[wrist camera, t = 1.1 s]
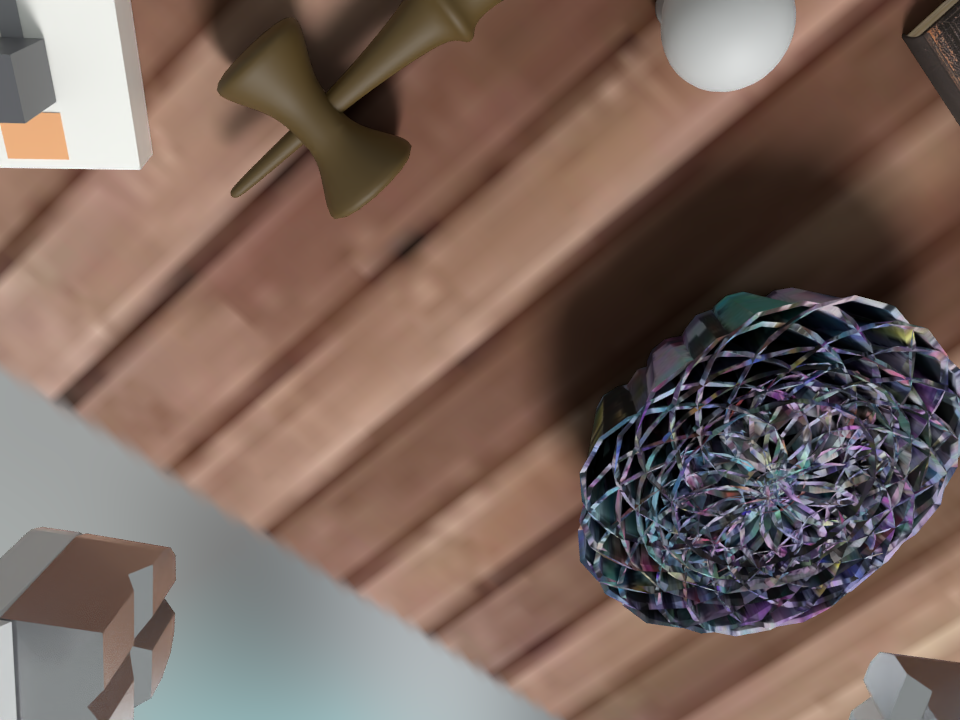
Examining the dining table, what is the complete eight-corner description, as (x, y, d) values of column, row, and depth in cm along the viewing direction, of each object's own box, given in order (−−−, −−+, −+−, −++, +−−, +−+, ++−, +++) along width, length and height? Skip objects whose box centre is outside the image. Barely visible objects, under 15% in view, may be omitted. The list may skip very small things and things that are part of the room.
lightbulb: (603, -25, 44) (667, -1, 35) (708, -80, 44) (802, -71, 34) (640, 80, 47) (708, 128, 38) (738, 30, 47) (833, 66, 37)
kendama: (557, 13, 46) (298, 240, 50) (446, -145, 42) (174, 117, 46) (582, 24, 40) (291, 277, 45) (459, -155, 36) (150, 142, 40)
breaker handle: (-23, 36, 39) (-64, 52, 36) (44, 38, 40) (10, 54, 36) (-7, 99, 41) (-46, 121, 37) (56, 101, 41) (25, 123, 38)
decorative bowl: (485, 470, 63) (498, 570, 55) (719, 172, 51) (780, 243, 42) (732, 573, 72) (775, 671, 64) (982, 340, 60) (1074, 425, 51)
